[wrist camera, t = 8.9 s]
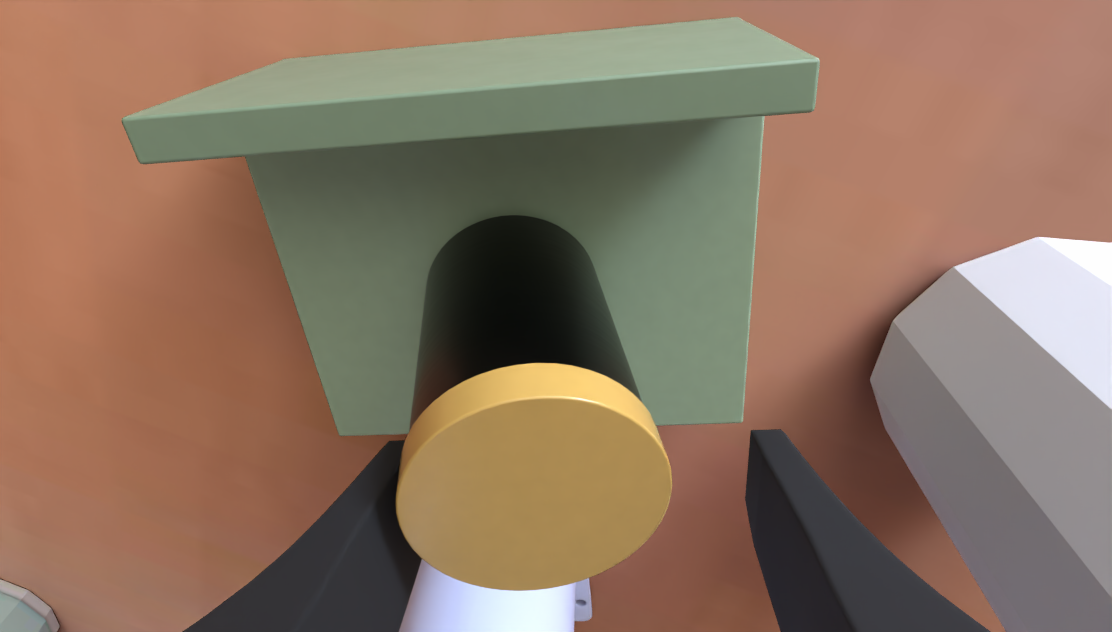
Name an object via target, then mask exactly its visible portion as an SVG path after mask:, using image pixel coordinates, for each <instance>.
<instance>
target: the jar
mask: <svg viewBox="0 0 1112 632" xmlns="http://www.w3.org/2000/svg"><path fill="white" fill-rule="evenodd" d="M870 382H871V385H872V388H873V391H874V395H875V398H876V401H877V404H878V407H879V411H880V414H881V417H882V420H883V424H884V427H885V429H886V431H887V433H888V434H889V436H890V438H891V439H892V441H893V443H894V444H895V446H896V448H897V449H898V451H899V453H900V454H901V456H902V458H903V459H904V461H905V463H906V465H907V466H908V468H909V470H910V471H911V473H912V475H913V476H914V478H915V480H916V481H917V483H918V485H919V486H920V488H921V490H922V491H923V493H924V495H925V496H926V498H927V500H928V501H929V503H930V505H931V506H932V508H933V510H934V511H935V513H936V515H937V516H938V518H939V520H940V522H941V523H942V525H943V527H944V528H945V530H946V532H947V533H948V535H949V537H950V538H951V540H952V542H953V543H954V545H955V547H956V548H957V550H958V552H959V553H960V555H961V557H962V558H963V560H964V562H965V563H966V565H967V567H968V568H969V570H970V572H971V574H972V575H973V577H974V579H975V580H976V582H977V584H978V585H979V587H980V589H981V590H982V592H983V594H984V595H985V597H986V599H987V600H988V602H989V604H990V605H991V607H992V609H993V610H994V612H995V614H996V615H997V617H998V619H999V620H1000V622H1001V624H1002V625H1003V627H1004V629H1005V631H1006V632H1112V243H1104V242H1092V241H1080V240H1068V239H1055V238H1043V237H1036V238H1033V239H1030V240H1028V241H1025V242H1022V243H1019V244H1016V245H1014V246H1011V247H1008V248H1005V249H1002V250H999V251H997V252H994V253H991V254H988V255H985V256H983V257H980V258H977V259H974V260H971V261H969V262H966V263H963V264H960V265H957V266H955V267H952V268H951V269H949V270H948V271H947V272H946V273H944V274H943V275H942V276H941V277H940V278H939V279H938V280H936V281H935V282H934V283H933V284H932V285H931V286H930V287H929V288H927V289H926V290H925V291H924V292H923V293H922V294H921V295H920V296H918V297H917V298H916V299H915V300H914V301H913V302H912V303H911V304H909V305H908V306H907V307H906V308H905V309H904V310H903V311H901V312H900V313H899V315H898V316H897V317H896V318H895V319H894V320H893V321H892V324H891V326H890V329H889V331H888V334H887V337H886V339H885V342H884V344H883V347H882V349H881V352H880V355H879V357H878V360H877V362H876V365H875V367H874V370H873V373H872V375H871V378H870Z"/></svg>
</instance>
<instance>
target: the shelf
mask: <svg viewBox="0 0 1112 632" xmlns="http://www.w3.org/2000/svg"><path fill="white" fill-rule="evenodd" d="M819 66H820V61H819V58H817V57H815V56H813V55H811V54H809V53H807V52H805V51H803V50H801V49H799V48H797V47H795V46H793V45H791V44H789V43H787V42H785V41H783V40H781V39H779V38H777V37H775V36H773V35H771V34H769V33H767V32H765V31H763V30H761V29H759V28H757V27H755V26H753V25H751V24H749V23H748V22H746V21H744V20H742V19H741V18H738V17H733V18H722V19H711V20H700V21H689V22H679V23H668V24H657V25H646V26H636V27H625V28H614V29H603V30H592V31H582V32H571V33H560V34H549V35H539V36H528V37H517V38H506V39H495V40H485V41H474V42H463V43H452V44H442V45H431V46H420V47H409V48H398V49H388V50H377V51H366V52H355V53H345V54H334V55H323V56H312V57H301V58H291V59H284V60H281V61H279V62H276V63H273V64H270V65H268V66H265V67H262V68H259V69H257V70H254V71H251V72H248V73H245V74H243V75H240V76H237V77H234V78H231V79H229V80H226V81H223V82H220V83H217V84H215V85H212V86H209V87H206V88H204V89H201V90H198V91H195V92H192V93H190V94H187V95H184V96H181V97H178V98H176V99H173V100H170V101H167V102H164V103H162V104H159V105H156V106H153V107H151V108H148V109H145V110H142V111H139V112H137V113H134V114H131V115H128V116H125V117H124V118H122V124H123V126H124V128H125V131H126V133H127V135H128V138H129V140H130V143H131V145H132V147H133V150H134V152H135V154H136V157H137V159H138V161H139V162H140V163H141V164H154V163H167V162H180V161H193V160H205V159H218V158H231V157H244V156H245V158H246V161H247V164H248V167H249V170H250V173H251V176H252V179H253V182H254V185H255V188H256V191H257V194H258V197H259V200H260V203H261V206H262V208H263V211H264V214H265V217H266V220H267V223H268V226H269V229H270V232H271V235H272V238H273V241H274V244H275V247H276V250H277V253H278V256H279V259H280V262H281V265H282V268H283V271H284V274H285V277H286V280H287V282H288V285H289V288H290V291H291V294H292V297H293V300H294V303H295V306H296V309H297V312H298V315H299V318H300V321H301V324H302V327H303V330H304V333H305V336H306V339H307V342H308V345H309V348H310V351H311V354H312V356H313V359H314V362H315V365H316V368H317V371H318V374H319V377H320V380H321V383H322V386H323V389H324V392H325V395H326V398H327V401H328V404H329V407H330V410H331V413H332V416H333V419H334V422H335V425H336V428H337V430H338V433H339V435H340V436H358V435H389V434H408V433H409V427H410V419H411V410H412V402H413V394H414V385H415V377H416V368H417V360H418V351H419V343H420V334H421V326H422V317H423V309H424V300H425V292H426V284H427V278H428V274H429V271H430V268H431V265H432V263H433V261H434V259H435V257H436V256H437V254H438V253H439V251H440V250H441V248H442V247H443V246H444V245H445V244H446V243H447V242H448V241H449V240H450V239H451V238H452V237H454V236H455V235H456V234H457V233H459V232H460V231H462V230H463V229H465V228H466V227H468V226H470V225H472V224H475V223H477V222H479V221H482V220H485V219H488V218H493V217H498V216H507V215H522V216H530V217H535V218H539V219H543V220H546V221H549V222H551V223H553V224H555V225H557V226H559V227H561V228H562V229H564V230H566V231H567V232H569V233H570V234H571V235H572V236H573V237H574V238H576V239H577V240H578V242H579V243H580V244H581V245H582V246H583V247H584V249H585V250H586V252H587V253H588V255H589V257H590V259H591V261H592V263H593V266H594V268H595V271H596V274H597V277H598V280H599V282H600V285H601V288H602V291H603V294H604V296H605V299H606V302H607V305H608V308H609V310H610V313H611V316H612V319H613V322H614V324H615V327H616V330H617V333H618V336H619V338H620V341H621V344H622V347H623V350H624V352H625V355H626V358H627V361H628V364H629V366H630V369H631V372H632V375H633V378H634V380H635V383H636V386H637V389H638V392H639V394H640V397H641V400H642V403H643V404H644V406H645V407H646V408H647V410H648V411H649V412H650V414H651V416H652V418H653V420H654V422H655V424H656V426H660V425H691V424H721V423H742V421H743V412H744V397H745V383H746V369H747V355H748V341H749V326H750V312H751V298H752V284H753V270H754V255H755V241H756V227H757V213H758V199H759V184H760V170H761V156H762V142H763V128H764V116H770V115H783V114H796V113H809V112H812V111H814V108H815V102H816V93H817V84H818V75H819Z"/></svg>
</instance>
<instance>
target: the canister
mask: <svg viewBox="0 0 1112 632" xmlns="http://www.w3.org/2000/svg"><path fill="white" fill-rule="evenodd" d="M671 490H672V472H671V467H670V464H669V460H668V457H667V454H666V451H665V448H664V446H663V443H662V440H661V438H660V435H659V432H658V429H657V427H656V424H655V422H654V420H653V418H652V416H651V414H650V412H649V411H648V410H647V408H646V407H645V406H644V404H643V403H642V400H641V397H640V394H639V392H638V389H637V386H636V383H635V380H634V378H633V375H632V372H631V369H630V366H629V364H628V361H627V358H626V355H625V352H624V350H623V347H622V344H621V341H620V338H619V336H618V333H617V330H616V327H615V324H614V322H613V319H612V316H611V313H610V310H609V308H608V305H607V302H606V299H605V296H604V294H603V291H602V288H601V285H600V282H599V280H598V277H597V274H596V271H595V268H594V266H593V263H592V261H591V259H590V257H589V255H588V253H587V252H586V250H585V249H584V247H583V246H582V245H581V244H580V243H579V242H578V240H577V239H576V238H574V237H573V236H572V235H571V234H570V233H569V232H567V231H566V230H564V229H562V228H561V227H559V226H557V225H555V224H553V223H551V222H549V221H546V220H543V219H539V218H535V217H530V216H522V215H507V216H498V217H493V218H488V219H485V220H482V221H479V222H477V223H475V224H472V225H470V226H468V227H466V228H465V229H463V230H462V231H460V232H459V233H457V234H456V235H455V236H454V237H452V238H451V239H450V240H449V241H448V242H447V243H446V244H445V245H444V246H443V247H442V248H441V250H440V251H439V253H438V254H437V256H436V257H435V259H434V261H433V263H432V265H431V268H430V271H429V274H428V278H427V284H426V292H425V300H424V309H423V317H422V326H421V334H420V343H419V351H418V360H417V368H416V377H415V385H414V394H413V402H412V410H411V419H410V427H409V433H408V435H407V437H406V440H405V443H404V446H403V449H402V453H401V460H400V467H399V475H398V482H397V490H396V498H395V502H396V515H397V519H398V523H399V526H400V528H401V531H402V533H403V535H404V537H405V539H406V540H407V542H408V543H409V545H410V546H411V548H412V549H413V550H414V551H415V552H416V553H417V554H418V555H419V556H420V558H422V559H423V560H424V561H425V562H427V563H428V564H429V565H430V566H432V567H433V568H435V569H437V570H438V571H440V572H442V573H443V574H445V575H447V576H450V577H452V578H454V579H456V580H459V581H462V582H465V583H468V584H471V585H475V586H480V587H484V588H490V589H497V590H510V591H528V590H541V589H549V588H554V587H559V586H564V585H568V584H572V583H575V582H579V581H582V580H585V579H587V578H590V577H593V576H595V575H598V574H600V573H602V572H604V571H606V570H608V569H610V568H612V567H613V566H615V565H617V564H618V563H620V562H622V561H623V560H625V559H626V558H627V557H629V556H630V555H631V554H633V553H634V552H635V551H636V550H637V549H639V548H640V547H641V546H642V545H643V544H644V543H645V542H646V541H647V540H648V539H649V537H650V536H651V535H652V534H653V533H654V532H655V530H656V529H657V527H658V526H659V524H660V522H661V521H662V519H663V517H664V515H665V513H666V510H667V508H668V504H669V501H670V497H671Z"/></svg>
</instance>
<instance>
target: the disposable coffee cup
mask: <svg viewBox="0 0 1112 632" xmlns="http://www.w3.org/2000/svg"><path fill="white" fill-rule="evenodd" d="M59 627H60V626H59V624H58V621H57V619H56V617H55V615H54V613H53V611H52V609H51V608H50V607H49V606H48V605H47V604H45V603H44V602H43V601H42V600H40V599H39V598H38V597H37V596H35V595H34V594H33V593H31V592H30V591H29V590H26V589H24V588H21V587H19V586H16V585H14V584H11V583H9V582H6V581H4V580H1V579H0V632H57V631H58V629H59Z"/></svg>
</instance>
